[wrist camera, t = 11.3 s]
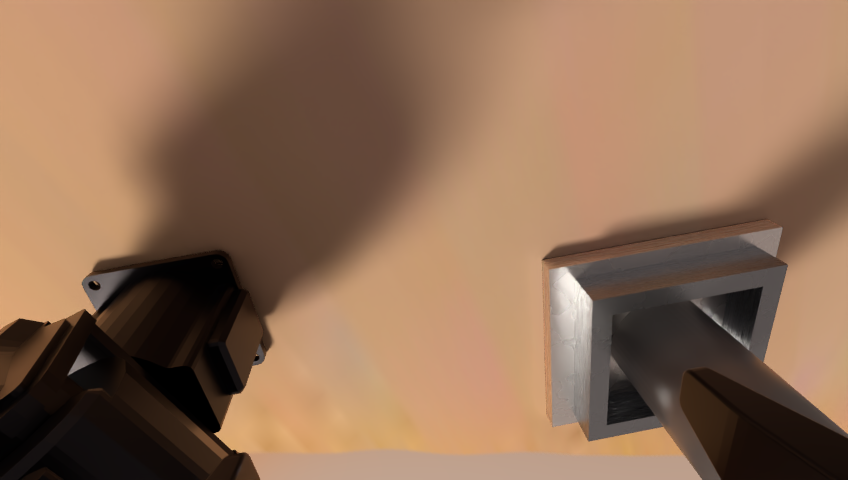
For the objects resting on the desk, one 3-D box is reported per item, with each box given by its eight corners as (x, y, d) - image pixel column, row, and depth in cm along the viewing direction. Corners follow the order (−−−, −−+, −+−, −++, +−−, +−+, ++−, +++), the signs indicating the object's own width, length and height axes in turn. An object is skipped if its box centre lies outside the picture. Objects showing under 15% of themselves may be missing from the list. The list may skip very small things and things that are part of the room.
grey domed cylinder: (595, 366, 25) (764, 618, 14) (638, 287, 23) (870, 512, 12) (673, 379, 26) (884, 624, 16) (720, 306, 24) (999, 526, 14)
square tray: (546, 414, 28) (565, 455, 25) (542, 260, 23) (565, 291, 20) (732, 377, 28) (770, 414, 26) (767, 219, 24) (818, 244, 21)
